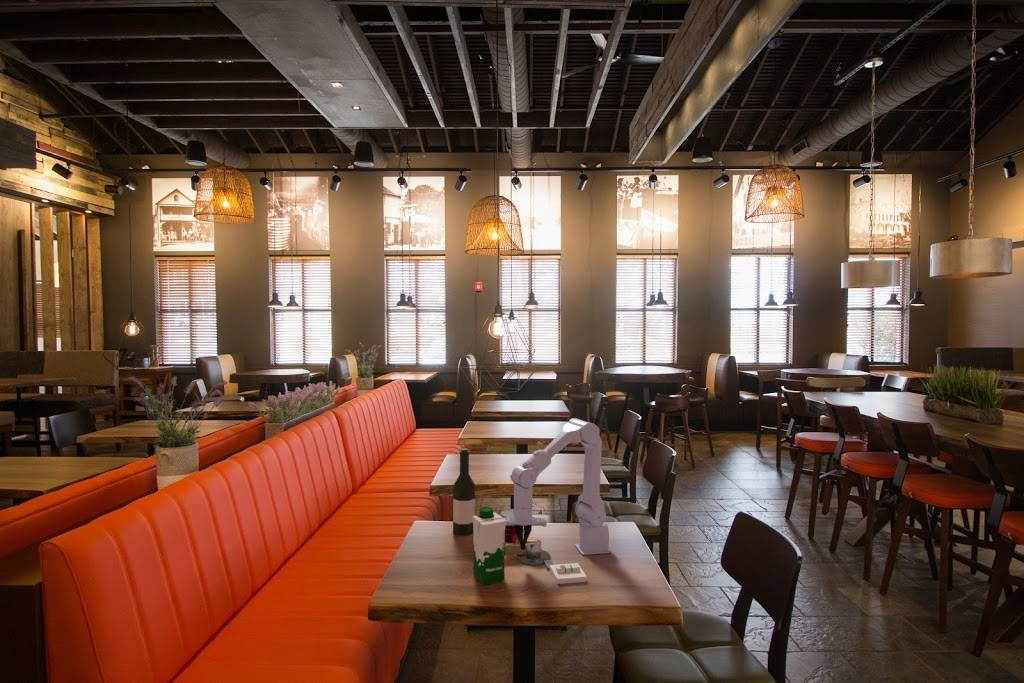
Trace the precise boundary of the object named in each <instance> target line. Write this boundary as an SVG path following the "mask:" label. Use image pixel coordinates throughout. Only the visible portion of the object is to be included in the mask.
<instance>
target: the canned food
mask: <svg viewBox="0 0 1024 683" xmlns="http://www.w3.org/2000/svg"><path fill="white" fill-rule="evenodd" d="M500 516H501V517H503V518H507V517H514V508H510V509H505V510H503V511H501V513H500ZM522 536H523V537H524V526H523V527H522ZM505 543H520V542H519V539H518V536H517V534H516V532H515V530H514V526H513V525H506V526H505Z"/></svg>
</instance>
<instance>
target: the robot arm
mask: <svg viewBox="0 0 1024 683" xmlns="http://www.w3.org/2000/svg"><path fill="white" fill-rule="evenodd" d="M600 430H601V429H600V428H599V427H598V426H597V424H595V423H593V422H589V421H585V420H582V419H579V418H577V417H574V418H573V417H572V418H571V419H569V421H568V422H567V423H565V424H564V425H563V428H562V430H561V431H560V432H559V433H558V434H557V435H556V436H555V437H554V438H553V439H552V441H551V442H550V443H549V444H548V445H547V446H546V447H545V448H544V449H538V450H535V451H533V452H532V455H531V456H530V457H529V458H528V459H527V460H525V461H523V462H522V465H521V464H520V465H517V466H515V467H514V468H513V470H512V472H511V474H510V480H511V482H512V483H513V509H514V517H507V518H503V519H505V520H506V525H513V526H514V530H515V532H516V534H517V536H518V539H519V542H520V547H521V550H525V547H526V542H527V540H528V539H529V537H530V535H531V533H532V528H533V527H534V526H535V527H545V528H547V518H545V517H544V518H543V517H535V516H533V486H535V485H536V482H537V479H538V477H539V475H540V474H541V473H543V472H544V470H545V469H546V468H548V467H549V466H550V465H551V463H552V458H553V457H554V456H555V455H557V454H558V453H559V452H560V451H561V450H563V449H564V448H565V447H567V445H569V444H570V443H572V444H573V443H574V444H575V443H581V445H582V446H583V447H584V462H583V463H584V465H583V482H582V493H581V494H580V495H579V496H578V498H577V503H576V506H575V509H574V510H575V511H574V512H575V515H576V517H578V521H579V527H578V528H579V531H578V532H579V533H578V536H579V538H578V543H575V544H574V545H575V547H576V548H577V550H578V551H579V552H580V554H581V555H582V556H585V555H600V554H601V555H602V554H609V553H610V546H609V545H610V544H609V543H610V532H609V526H608V524H607V522H606V519H607V513H606V509H605V501H603V499H602V497H601V496H600V492H601V490H600V488H601V469H602V468H601V467H602V450H603V441H602V438H601V435H600ZM522 527H523V536H522Z"/></svg>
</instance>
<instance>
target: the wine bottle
mask: <svg viewBox="0 0 1024 683" xmlns="http://www.w3.org/2000/svg"><path fill="white" fill-rule="evenodd" d="M452 487H453V488H452V490H453V491H452V492H453V493H452V494H453V495H452V501H453V502H452V506H453V508H452V534H453V535H456V536H459V537H464V536H465V537H469V536H471V535H473V534H474V532H473V516H476V483H475V482H474V480H473V479H472V477H471V475H470V450H469V449H468V448H465V447H461V449H460V450H459V475H458V477H457V478H456V480H455V482H454V483H453V486H452Z"/></svg>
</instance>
